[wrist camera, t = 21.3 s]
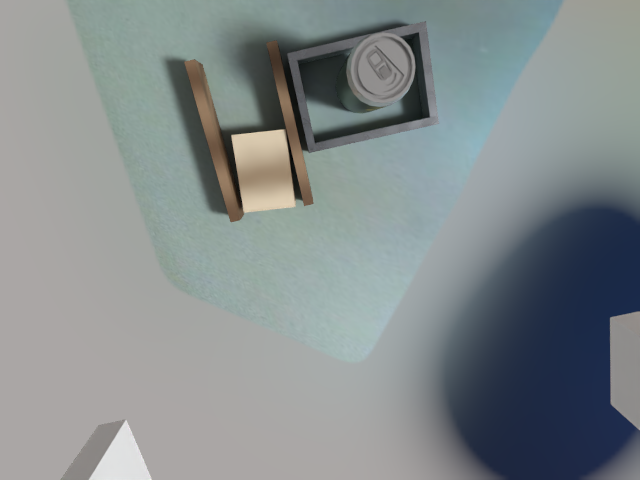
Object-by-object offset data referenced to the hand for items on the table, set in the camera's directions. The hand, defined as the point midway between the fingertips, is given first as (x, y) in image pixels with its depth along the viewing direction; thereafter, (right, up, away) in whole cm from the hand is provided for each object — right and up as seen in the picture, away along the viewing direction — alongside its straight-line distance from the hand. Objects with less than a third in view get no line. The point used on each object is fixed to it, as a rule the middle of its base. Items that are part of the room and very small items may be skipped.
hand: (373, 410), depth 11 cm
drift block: (-7, +12, +33) cm, 36 cm away
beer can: (+3, +21, +31) cm, 37 cm away
